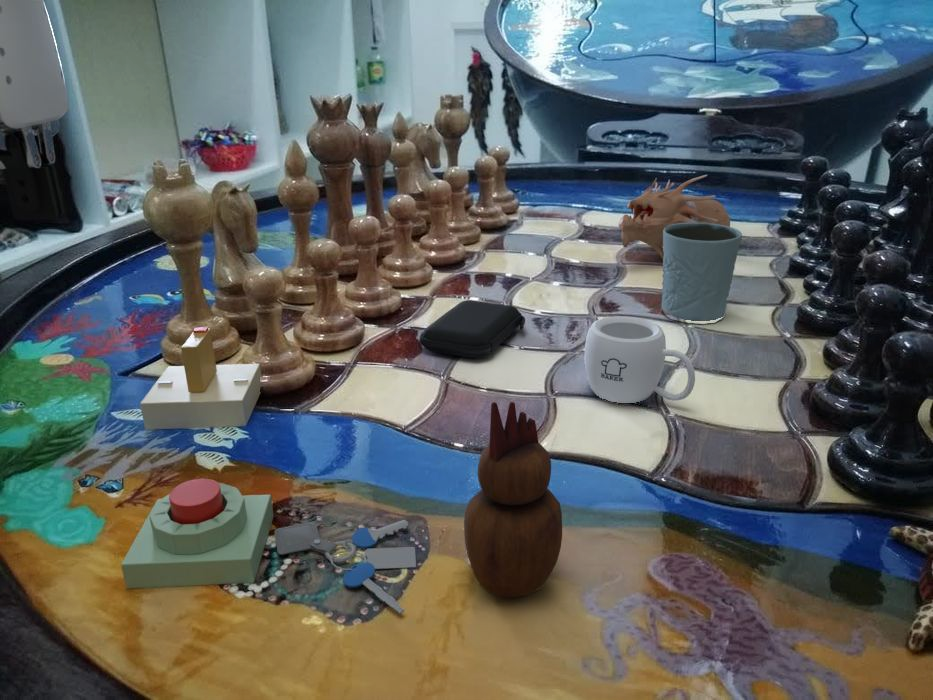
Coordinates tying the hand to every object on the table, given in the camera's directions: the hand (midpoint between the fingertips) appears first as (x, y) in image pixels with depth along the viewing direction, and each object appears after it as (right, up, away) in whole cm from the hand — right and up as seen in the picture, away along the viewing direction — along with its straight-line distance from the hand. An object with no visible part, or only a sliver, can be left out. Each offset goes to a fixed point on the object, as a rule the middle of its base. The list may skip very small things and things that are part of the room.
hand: (40, 216), depth 58 cm
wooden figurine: (+37, -27, -5) cm, 47 cm away
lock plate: (+6, -17, +20) cm, 27 cm away
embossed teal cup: (+66, -6, +45) cm, 80 cm away
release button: (+14, -23, -4) cm, 27 cm away
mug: (+52, -16, +21) cm, 59 cm away
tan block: (+6, -14, +18) cm, 24 cm away
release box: (+14, -26, -2) cm, 30 cm away
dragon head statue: (+70, +5, +69) cm, 99 cm away
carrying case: (+35, -9, +37) cm, 52 cm away
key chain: (+26, -26, -2) cm, 37 cm away
